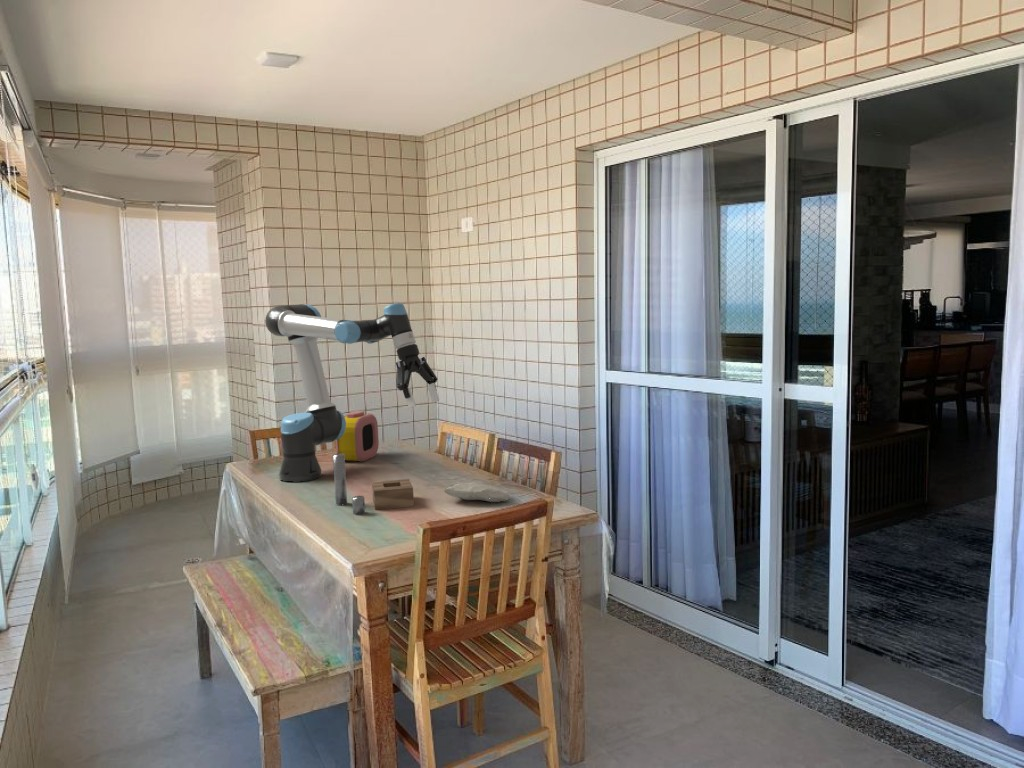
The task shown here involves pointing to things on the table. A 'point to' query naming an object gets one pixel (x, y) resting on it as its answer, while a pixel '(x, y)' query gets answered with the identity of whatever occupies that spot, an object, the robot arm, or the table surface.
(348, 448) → the alarm clock
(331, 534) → the table surface
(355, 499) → the short peg
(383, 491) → the collar block
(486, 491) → the rock
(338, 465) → the tall peg
